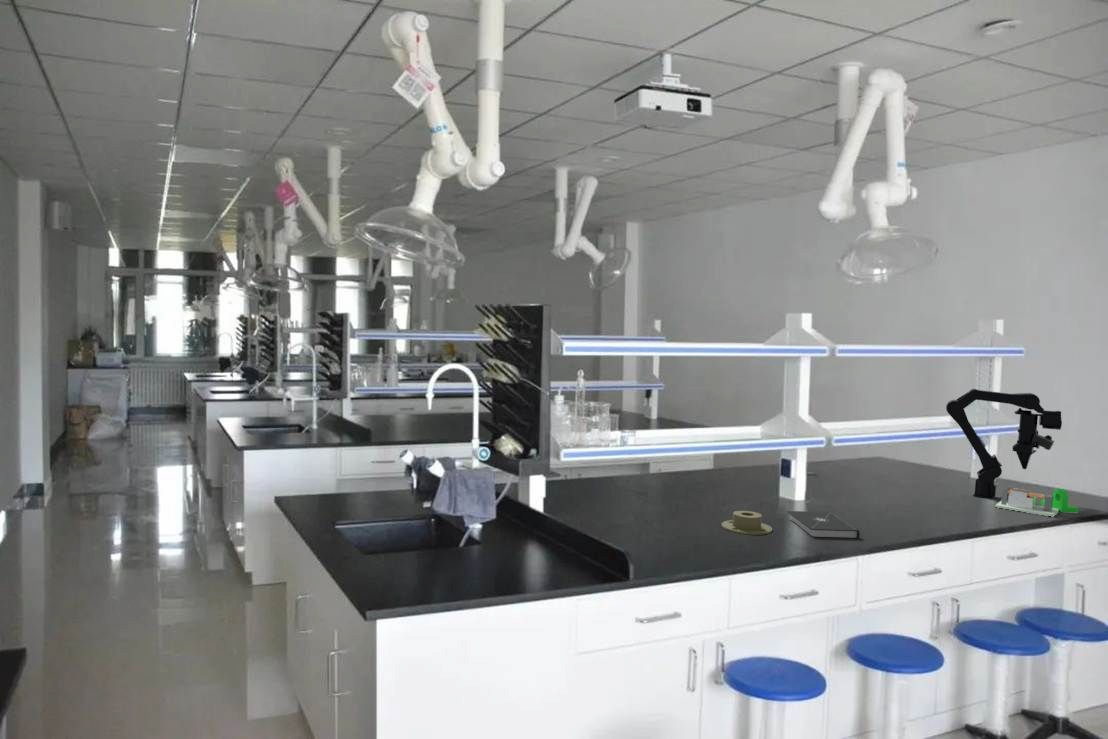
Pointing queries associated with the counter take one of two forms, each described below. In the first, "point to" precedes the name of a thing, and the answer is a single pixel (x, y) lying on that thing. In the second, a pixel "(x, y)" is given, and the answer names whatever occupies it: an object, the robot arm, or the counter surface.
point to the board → (1035, 510)
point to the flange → (746, 523)
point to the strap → (1032, 494)
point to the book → (823, 524)
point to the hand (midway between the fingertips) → (1024, 468)
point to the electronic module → (1024, 499)
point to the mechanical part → (1061, 501)
